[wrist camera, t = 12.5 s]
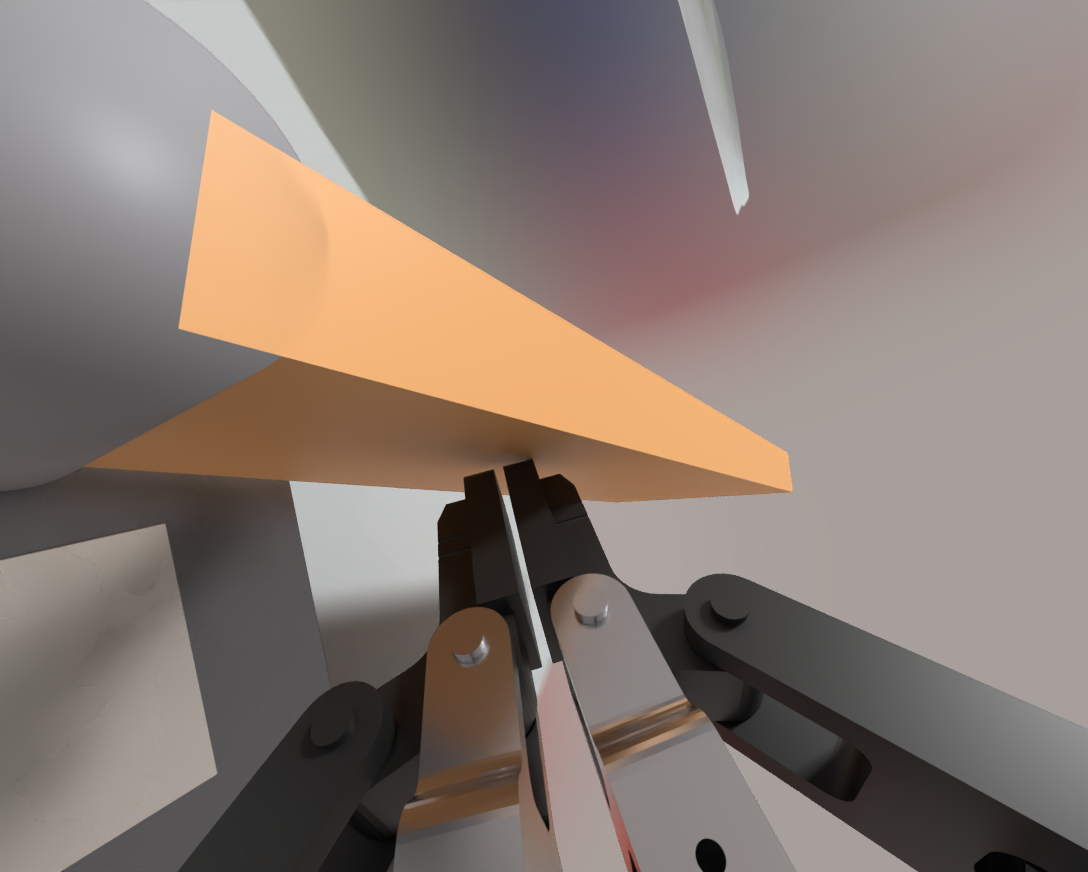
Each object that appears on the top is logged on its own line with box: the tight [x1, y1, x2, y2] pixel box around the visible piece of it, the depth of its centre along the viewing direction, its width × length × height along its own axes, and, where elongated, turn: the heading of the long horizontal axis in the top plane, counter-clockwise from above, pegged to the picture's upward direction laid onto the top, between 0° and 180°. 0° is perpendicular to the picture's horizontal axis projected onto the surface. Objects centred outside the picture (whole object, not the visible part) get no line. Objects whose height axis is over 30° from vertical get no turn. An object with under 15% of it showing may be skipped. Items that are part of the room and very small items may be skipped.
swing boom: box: [0, 0, 793, 502], centre depth 16 cm, size 27×3×10 cm, turn 93°
